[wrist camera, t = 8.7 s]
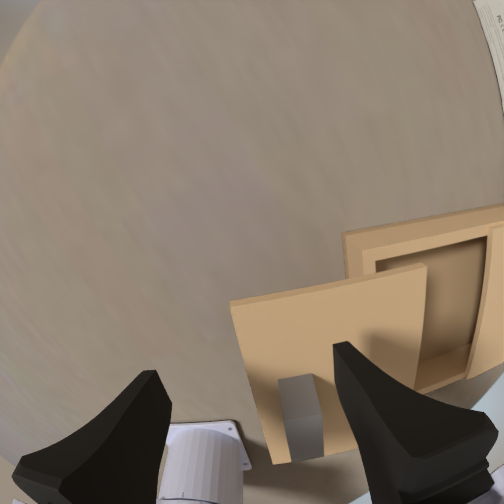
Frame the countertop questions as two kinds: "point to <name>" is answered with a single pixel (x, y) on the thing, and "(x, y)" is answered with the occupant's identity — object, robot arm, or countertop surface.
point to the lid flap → (325, 353)
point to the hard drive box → (494, 34)
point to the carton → (445, 286)
